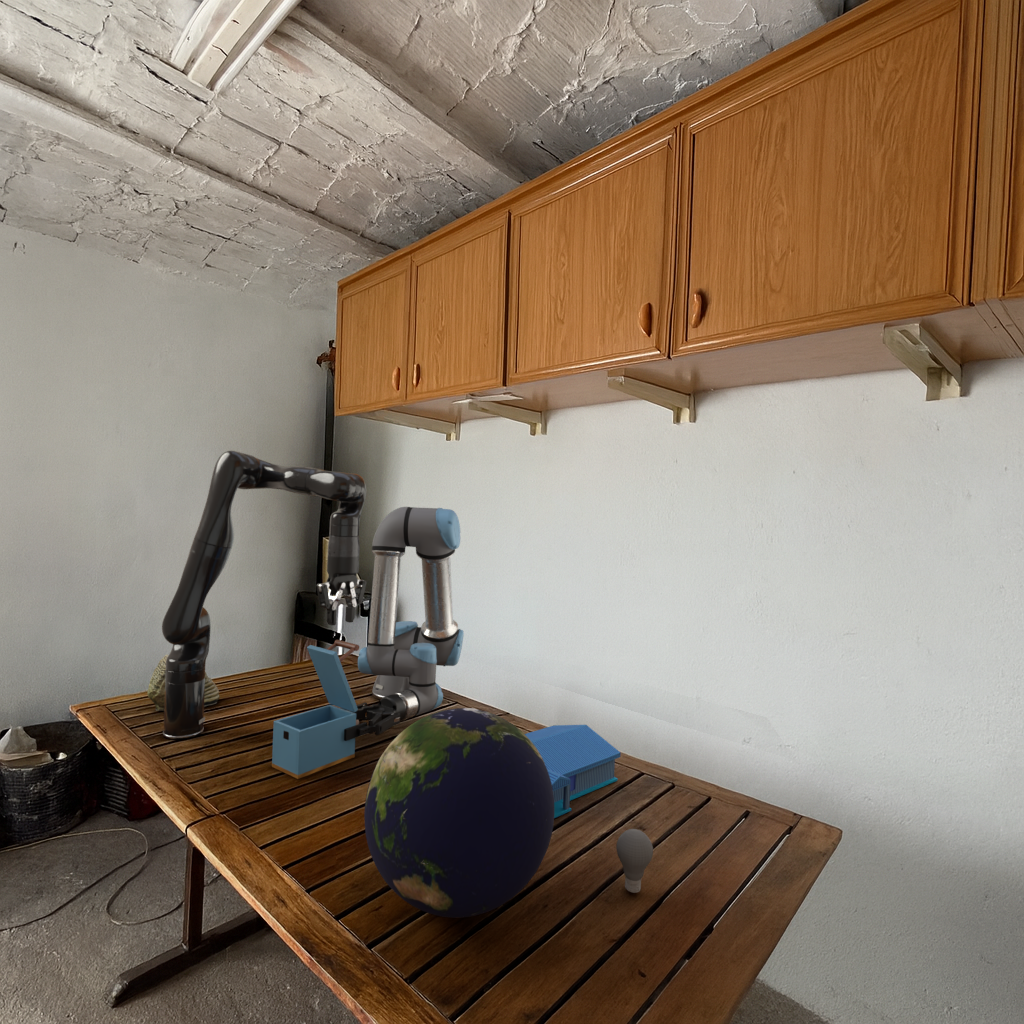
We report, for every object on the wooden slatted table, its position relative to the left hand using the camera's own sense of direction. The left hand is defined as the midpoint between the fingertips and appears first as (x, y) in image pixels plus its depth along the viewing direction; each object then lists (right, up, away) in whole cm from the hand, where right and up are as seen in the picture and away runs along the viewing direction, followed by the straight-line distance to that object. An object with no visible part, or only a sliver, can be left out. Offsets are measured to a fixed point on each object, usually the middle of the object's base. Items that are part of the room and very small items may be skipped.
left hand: (340, 623), depth 155 cm
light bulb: (+62, -36, -50) cm, 87 cm away
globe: (+33, -35, -54) cm, 72 cm away
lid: (-2, -14, -2) cm, 14 cm away
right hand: (-2, -26, -1) cm, 26 cm away
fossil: (-54, -30, +30) cm, 68 cm away
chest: (-5, -32, -4) cm, 33 cm away
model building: (+46, -35, -14) cm, 60 cm away
